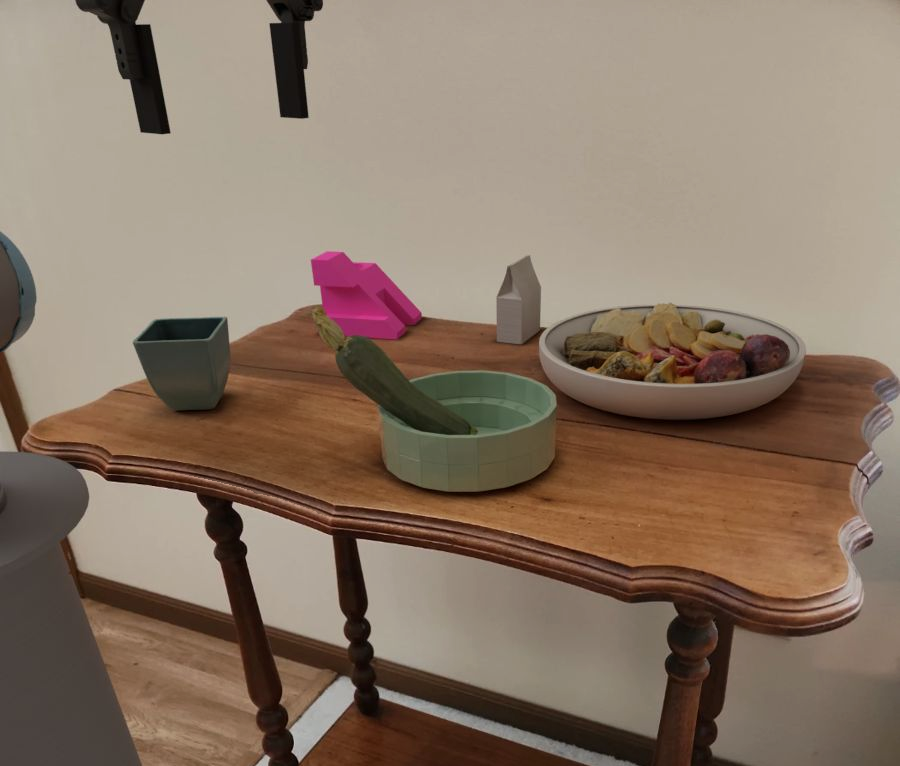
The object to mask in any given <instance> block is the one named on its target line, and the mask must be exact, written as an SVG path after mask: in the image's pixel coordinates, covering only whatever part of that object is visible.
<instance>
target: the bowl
mask: <svg viewBox="0 0 900 766" xmlns="http://www.w3.org/2000/svg"><path fill="white" fill-rule="evenodd" d="M806 354H807V347H806V343H805V342H804V340H803V339H802V338H801V337H800V336H799V335H798V334H797V333H796V332H794V331H793V330H791V329H790V328H788V327H786V326H784V325H782V324H780V323H778V322H775V321H772V320H770V319H767V318H764V317H760V316H758V315H754V314H749V313H745V312H741V311H735V310H732V309H731V310H730V309H725V308H724V309H723V308H717V307H710V306H709V307H708V306H699V305H688V304H687V305H686V304H675V303H672V302H667V303H657V304H633V305H621V306H612V307H605V308H598V309H594V310H587V311H584V312H581V313H580V312H579V313H578V314H574V315H570V316H567V317H565V318H562V319H560V320H558V321H556V322H555V323H553V324H551V325H549V326H548V327H547V328H546V329H545V330H544V331H543V332H542V333H541V334H540V336H539V340H538V356H539V361H540V364H541V367H542V370H543V372H544V374H545V375H546V377H547V378H548V380H549V381H550V382H551V383H552V385H554V386H555V387H556V388H557V389H558V390H559V391H561V392H562V393H564V394H565V395H566V396H567V397H570V398H571V399H573V400H575V401H577V402H578V403H579V402H580V403H582V404H584V405H586V406H589V407H592V408H594V409H598V410H601V411H604V412H609V413H612V414H617V415H623V416H627V417H633V418H642V419H650V420H664V421H665V420H666V421H669V420H670V421H671V420H672V421H685V420H686V421H687V420H706V419H713V418H720V417H727V416H732V415H736V414H740V413H744V412H747V411H751V410H753V409H756V408H759V407H761V406H764V405H765V404H768V403H769V402H771V401H773V400H775V399H776V398H778V397H779V396H781V395H782V394H783V393H785V391H787V390H788V389H789V388H790V387H791V386H792V385H793V383H794V382H795V381H796V379H797V378H798V377H799V375H800V373H801V370H802V369H803V366H804V362H805V358H806Z"/></svg>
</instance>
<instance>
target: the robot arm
mask: <svg viewBox="0 0 900 766" xmlns="http://www.w3.org/2000/svg"><path fill="white" fill-rule="evenodd" d="M74 1H75V5H76V6H77V7H78V9H79V10H80V11H82V12H84V13H90V14H92V15H95V16H96V17H97V19H98V20H99V21H100V22H101V23H102V24H105V25H107V27H108V28H109V32H110V37H111V41H112V47H113V51H114V56H115V60H116V65H117V70H118V73H119V75H120V76H121V78H122V80H129V82H130V88H131V93H132V97H133V102H134V108H135V113H136V118H137V122H138V126H139V131H140V134H141V133H143V134H153V135H168V134H169V135H170V134H172V131H171V127H170V122H169V115H168V111H167V106H166V101H165V95H164V90H163V84H162V78H161V74H160V69H159V64H158V58H157V53H156V47H155V42H154V37H153V31H152V26H151V24H150V23H139V24H138V23H137V20H139V19H138V18H139V16H140V14H141V11H142V8H143V6H144V3H145V1H146V0H74ZM266 3H268V5H269V7H270V8H271V10H272V11H273V13H274V14H275V16H276V18H277V20H279V21H280V22H269V32H270V41H271V49H272V57H273V66H274V75H275V83H276V92H277V101H278V109H279V117H280V118H284V119H300V120H301V119H303V120H304V119H309V107H308V96H307V87H306V77H305V70H308V66H309V57H308V56H309V55H308V48H307V39H306V38H307V35H306V27H305V26H306V22H311V21H312V20H313V19H314V17H315V12H320V11H322V9H323V7H324V0H266ZM36 304H37V289H36V283H35V279H34V276H33V274H32V270H31V268H30V266H29V264H28V262H27V260H26V258H25V257H24V255H23V253H22V252H21V250H20V248H18V246H17V245H16V244H15V243H14V242H13V241H12V240H11V239H10V238H9V237H8V236H7V235H6V234H4V232H2V231H0V353H2V352H3V353H4V352H5V351H6V350H8V348H10V347H11V346H12V344H14V343H16V342H17V341H19V340H21V339H22V337H24V336H25V335H26V334H27V332H28V331H29V329H30V328H31V326H32V324H33V322H34V319H35V316H36ZM6 502H7V498H6V495H5V492H4V490H3V487H2V484H1V482H0V514H1V513H2V511H3V510H4V508H5V506H6Z"/></svg>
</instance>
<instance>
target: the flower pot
mask: <svg viewBox="0 0 900 766" xmlns="http://www.w3.org/2000/svg"><path fill="white" fill-rule="evenodd" d="M132 345H133V348H134V350H135V353H136V355H137V358H138V360H139V362H140V363H139V364H140V366H141V367H142V368H141V369H142V370H143V373H144V375H145V378H146V381H147V382H148V384H149V385H150V387H151V389H152V390H153V392H154V393H155V394H156V396H157V397H158V398H159V400H160V401H161V402H163V404H165V405H166V406H167V407H168V408H169V409H170V410H171V411H194V410H195V411H198V410H201V411H202V410H213V409H215V408H216V407H217V405H218V403H219V401H220V400H221V398H222V396H223V395H224V392H225V389H226V386H227V382H228V378H229V375H230V369H231V347H230V333H229V321H228V317H227V316H205V317H172V318H171V317H169V318H167V317H166V318H155V319H153V320H152V321H151V322H149V324H148V325H147V326H146V327H145V328H144V329H143V330H142V331H141V333H139V335H138V336H137V337H135V338H134V339H133V340H132Z"/></svg>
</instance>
